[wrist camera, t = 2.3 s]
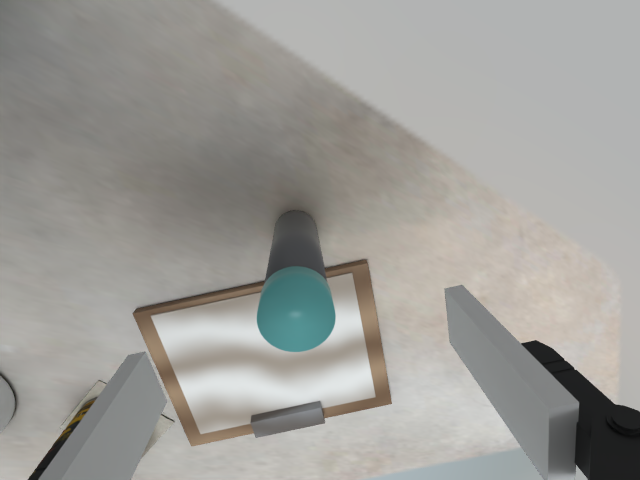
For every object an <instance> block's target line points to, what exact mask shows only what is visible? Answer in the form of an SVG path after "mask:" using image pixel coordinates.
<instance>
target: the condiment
mask: <svg viewBox="0 0 640 480" xmlns="http://www.w3.org/2000/svg"><path fill="white" fill-rule="evenodd" d="M106 385H107V384H105V383H103V382H100V381H98V382H97V383H96V384H95V385H94V386H93V388H92V389H91V390H90V391H89V392H88V394H87V395H86V396H85V397H84V399H83V400H82V401H81V402H80V403H79V405H78V406H77V407H76V408H75V410H74V411H73V412H72V413H71V414H70V416H69V417H68V418H67V419H66V421H65V422H64V423H63V424H62V425H61V427H60V429H62V430H64V431H63V432H62V434H61V435H60V437H59V438H58V439H57V440H56V442H55V443H54V444H53V446H52V448H51V449H50V450H49V451H48V453H49V452H50V451H51V450H52V449H53V448H55V447H56V446H57V445H58V444H59V443H60V442H61V441H62V440H65V439H68V438H69V436H70V435H71V434H72V432H73V431H74V429H75V428H76V427H77V425H78V424H79V423H80V421H81V420H82V418H83V417H84V416H85V414H86V413H87V411H88V410H89V409H90V407H91V406H92V405H93V403H94V402H95V400H96V399H97V398H98V396H99V395H100V393H101V392H102V391H103V389H104V388H105V387H106ZM173 423H174V422H173V421H171V420H169V419H167V418H165V417H164V416H162V415H161V416H160V418H159V420H158V422H157V424H156V426H155V429H154V431H153V433H152V435H151V437H150V439H149V442H148V444H147V446H146V448H145V450H144V452H143V454H142V457H143V456H144V455H145V454H146V452H147V451H148V450H149V449H150V448H151V447H152V446H153V445H154V444H155V443H156V441H157V440H158V439H159V438H160V437H161V436H162V435H163V434H164V433H165V432H166V431H167V429H169V428H170V426H171V425H172V424H173ZM48 453H47V454H48ZM47 454H46V455H47ZM46 455H45V456H46ZM142 457H141V458H142ZM44 458H45V457H44ZM44 458H43V459H44ZM41 462H42V461H41ZM41 462H40V463H41ZM38 466H39V465H38ZM38 466H37V467H38ZM35 472H36V469H35V470H34V472H33V473H35ZM33 473H32V474H33ZM29 478H30V477H29Z"/></svg>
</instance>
